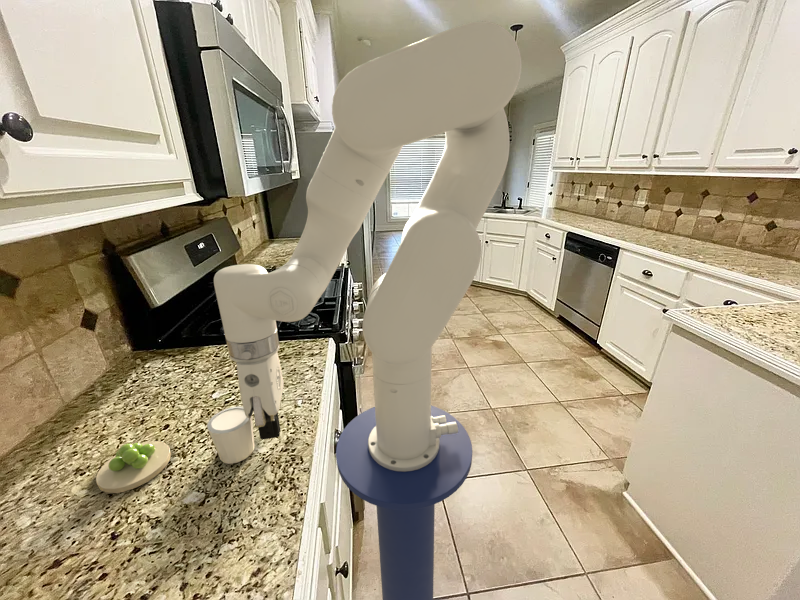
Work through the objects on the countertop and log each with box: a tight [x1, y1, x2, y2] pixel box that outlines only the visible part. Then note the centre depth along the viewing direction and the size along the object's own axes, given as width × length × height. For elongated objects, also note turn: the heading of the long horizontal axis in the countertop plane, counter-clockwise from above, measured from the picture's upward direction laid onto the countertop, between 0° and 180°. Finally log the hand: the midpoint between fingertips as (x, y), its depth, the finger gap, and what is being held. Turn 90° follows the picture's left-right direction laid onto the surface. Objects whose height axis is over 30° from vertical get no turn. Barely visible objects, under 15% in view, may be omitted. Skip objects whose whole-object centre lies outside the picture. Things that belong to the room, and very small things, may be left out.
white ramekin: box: [206, 406, 255, 465], centre depth 59 cm, size 7×7×7 cm
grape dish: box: [95, 440, 172, 494], centre depth 57 cm, size 10×10×5 cm
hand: (270, 435), depth 61 cm, fingers closed
